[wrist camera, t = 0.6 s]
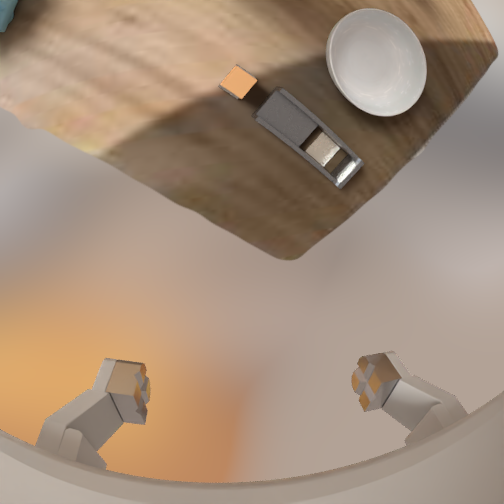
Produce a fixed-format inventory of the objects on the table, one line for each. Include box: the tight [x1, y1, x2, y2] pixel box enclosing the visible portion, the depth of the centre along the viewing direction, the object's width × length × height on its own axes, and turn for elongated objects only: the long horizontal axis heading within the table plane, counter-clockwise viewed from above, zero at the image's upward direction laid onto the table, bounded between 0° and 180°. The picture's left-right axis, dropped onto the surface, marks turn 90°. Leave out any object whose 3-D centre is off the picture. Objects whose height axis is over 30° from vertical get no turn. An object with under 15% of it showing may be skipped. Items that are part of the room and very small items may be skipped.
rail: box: [252, 86, 364, 189], centre depth 45 cm, size 7×21×5 cm, turn 52°
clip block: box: [220, 66, 257, 99], centre depth 37 cm, size 4×4×4 cm
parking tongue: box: [218, 64, 256, 99], centre depth 39 cm, size 5×4×1 cm
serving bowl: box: [326, 8, 427, 116], centre depth 36 cm, size 21×21×7 cm
